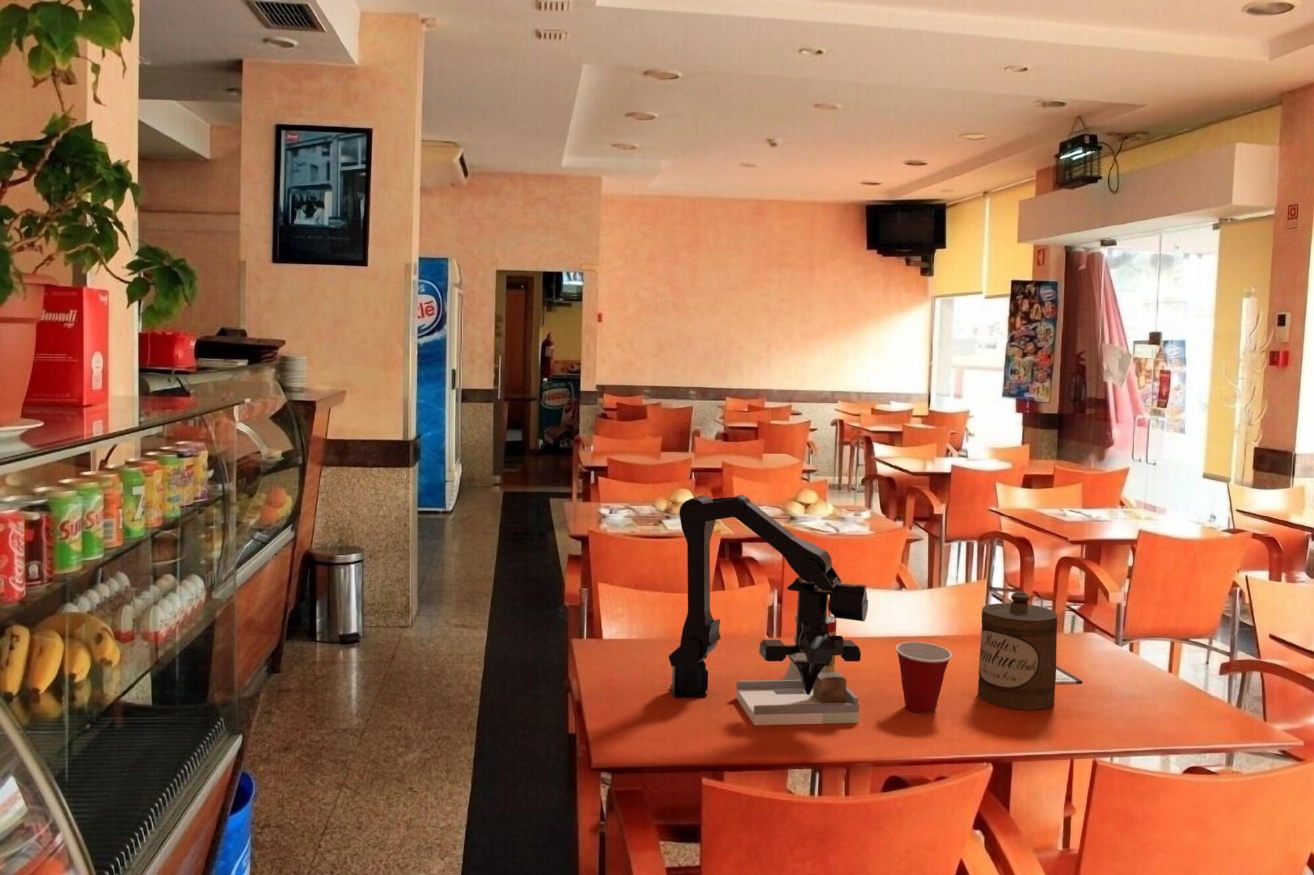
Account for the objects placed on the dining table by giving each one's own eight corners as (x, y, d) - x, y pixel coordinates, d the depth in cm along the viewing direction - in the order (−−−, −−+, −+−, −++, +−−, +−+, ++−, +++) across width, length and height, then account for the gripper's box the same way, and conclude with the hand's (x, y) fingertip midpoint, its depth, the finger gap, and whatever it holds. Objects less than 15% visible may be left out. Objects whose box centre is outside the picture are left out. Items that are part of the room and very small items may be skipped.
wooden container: (963, 696, 229) (968, 589, 227) (1004, 683, 238) (1009, 581, 237) (1028, 715, 218) (1034, 604, 216) (1068, 701, 227) (1074, 594, 225)
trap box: (754, 725, 208) (755, 701, 208) (736, 697, 224) (736, 675, 223) (858, 722, 211) (859, 699, 211) (833, 695, 227) (834, 674, 226)
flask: (817, 688, 232) (818, 640, 231) (781, 685, 233) (783, 637, 232) (819, 678, 239) (821, 631, 238) (785, 675, 240) (786, 629, 239)
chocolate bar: (1041, 657, 257) (1082, 680, 240) (1041, 661, 258) (1082, 685, 240) (1004, 657, 256) (1042, 681, 238) (1004, 661, 256) (1042, 686, 238)
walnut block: (820, 703, 215) (821, 680, 215) (813, 695, 220) (814, 672, 220) (845, 702, 216) (846, 679, 216) (837, 694, 221) (838, 672, 221)
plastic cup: (917, 721, 213) (920, 659, 212) (881, 704, 222) (884, 644, 221) (961, 713, 218) (964, 653, 217) (924, 697, 227) (926, 639, 226)
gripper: (774, 625, 207) (770, 707, 208) (872, 625, 209) (867, 707, 211) (760, 610, 218) (756, 689, 219) (853, 611, 220) (849, 689, 222)
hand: (807, 694), depth 217 cm, fingers closed
